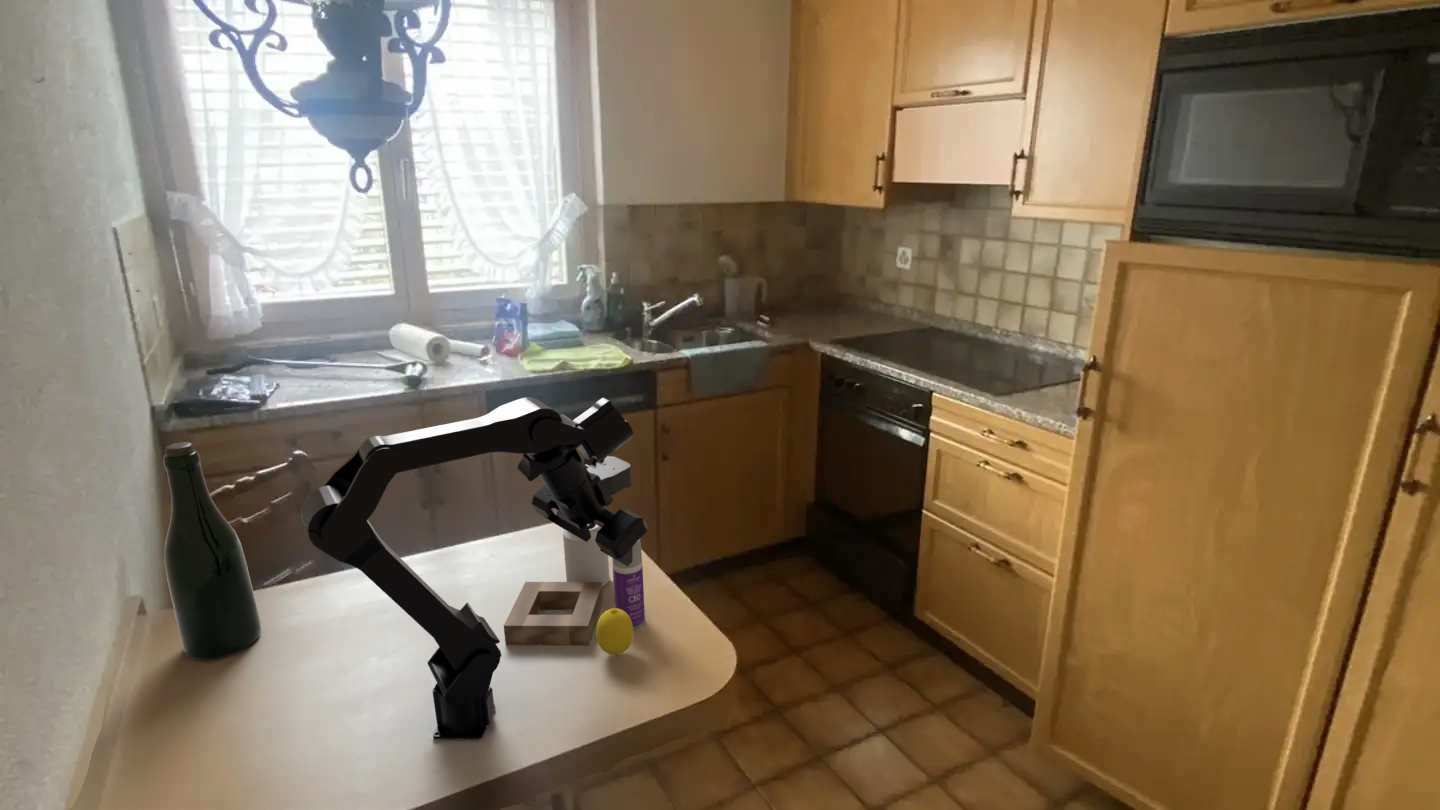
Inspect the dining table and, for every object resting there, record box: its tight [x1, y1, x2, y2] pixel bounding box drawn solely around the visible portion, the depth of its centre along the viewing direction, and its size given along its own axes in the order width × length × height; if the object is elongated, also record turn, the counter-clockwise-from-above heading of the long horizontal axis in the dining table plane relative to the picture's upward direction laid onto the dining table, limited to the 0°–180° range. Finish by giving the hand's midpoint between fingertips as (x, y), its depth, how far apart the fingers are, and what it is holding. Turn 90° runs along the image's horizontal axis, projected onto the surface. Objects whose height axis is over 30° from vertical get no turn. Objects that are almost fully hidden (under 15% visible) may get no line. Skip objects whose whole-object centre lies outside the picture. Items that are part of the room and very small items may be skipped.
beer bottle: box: [162, 441, 262, 661], centre depth 118 cm, size 10×10×33 cm
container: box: [611, 538, 646, 630], centre depth 125 cm, size 5×5×15 cm
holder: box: [503, 581, 604, 647], centre depth 127 cm, size 13×13×4 cm
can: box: [562, 522, 610, 588], centre depth 137 cm, size 8×8×12 cm
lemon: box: [595, 607, 635, 657], centre depth 118 cm, size 6×6×8 cm
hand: (608, 551), depth 115 cm, fingers open, 9 cm apart
